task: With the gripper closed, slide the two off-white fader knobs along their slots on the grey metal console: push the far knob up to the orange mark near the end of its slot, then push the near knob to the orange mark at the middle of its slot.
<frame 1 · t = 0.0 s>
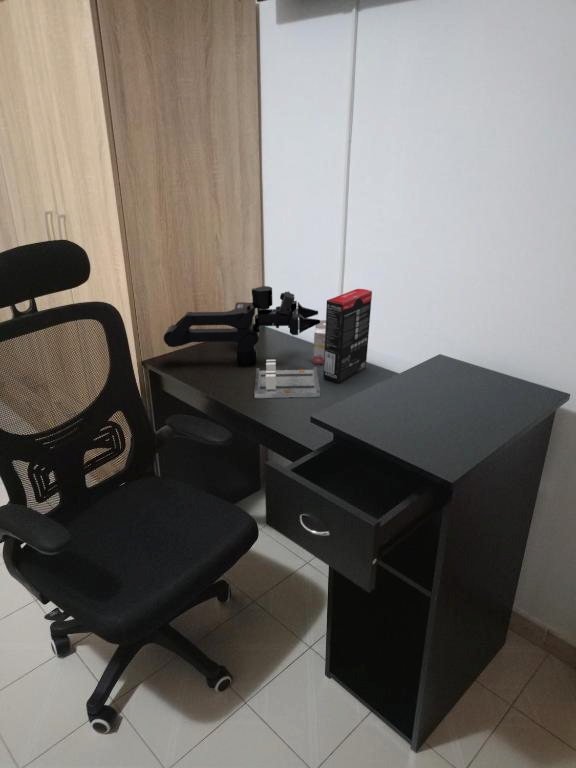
hand: (319, 316, 185), 17 cm above the table, tool horizontal, fingers open, 9 cm apart
fader b: (270, 379, 169), point 4 cm above the table, slide at -5.0 cm
fader a: (271, 367, 177), point 4 cm above the table, slide at -5.0 cm
ink cartridge box: (325, 362, 192), on the table
graphics card box: (346, 373, 183), on the table
coffee box: (245, 347, 205), on the table
console: (286, 385, 175), on the table
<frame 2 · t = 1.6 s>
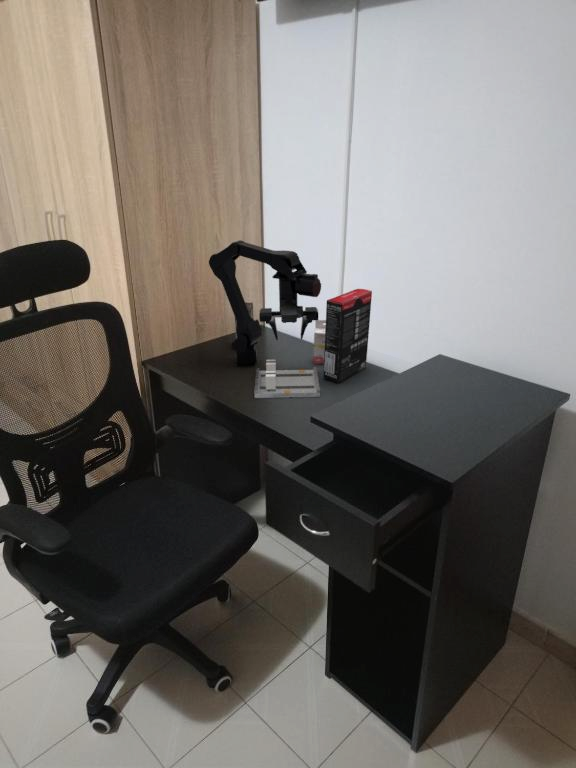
hand: (289, 339, 178), 12 cm above the table, tool pointing down, fingers open, 8 cm apart
nothing on the table moved.
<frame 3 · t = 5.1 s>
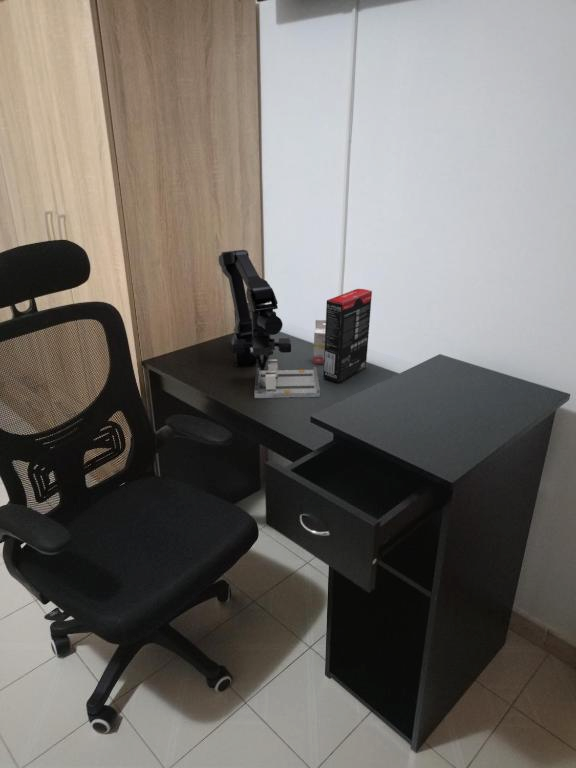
hand: (262, 370, 178), 4 cm above the table, tool pointing down, fingers closed
fader a: (273, 367, 177), point 4 cm above the table, slide at -4.4 cm, touching gripper
everything else where it was.
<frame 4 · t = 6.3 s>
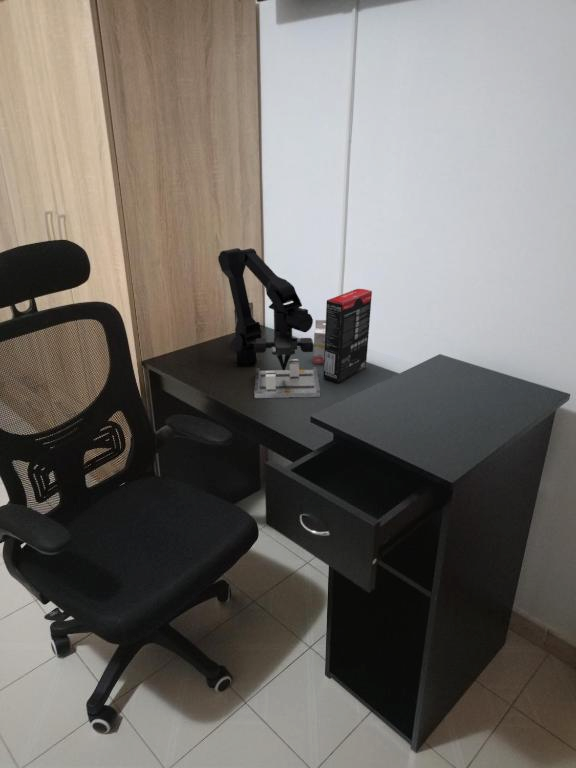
hand: (283, 369, 178), 4 cm above the table, tool pointing down, fingers closed
fader a: (294, 367, 177), point 4 cm above the table, slide at 2.5 cm, touching gripper
everything else where it was.
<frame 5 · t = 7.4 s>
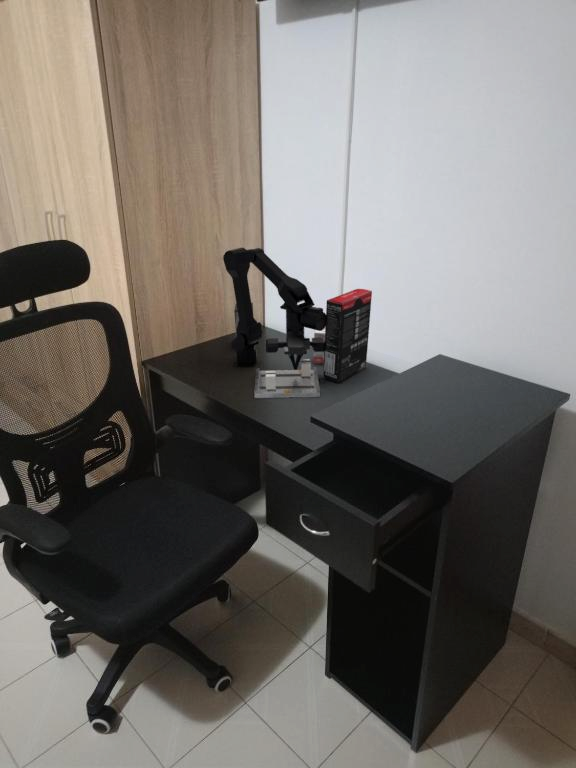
hand: (295, 369, 178), 4 cm above the table, tool pointing down, fingers closed
fader a: (305, 367, 177), point 4 cm above the table, slide at 6.3 cm, touching gripper
everything else where it was.
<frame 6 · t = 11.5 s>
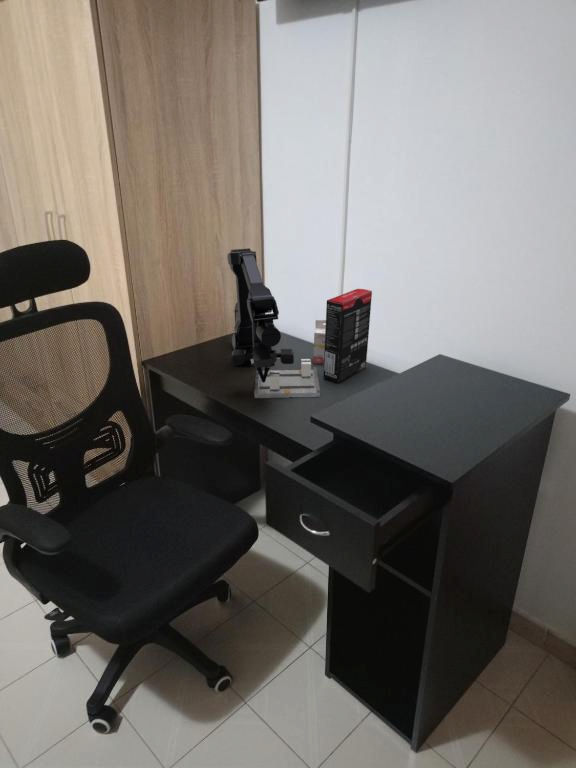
hand: (263, 381, 169), 4 cm above the table, tool pointing down, fingers closed
fader b: (274, 379, 169), point 4 cm above the table, slide at -3.8 cm, touching gripper
fader a: (306, 367, 177), point 4 cm above the table, slide at 6.4 cm
everything else where it was.
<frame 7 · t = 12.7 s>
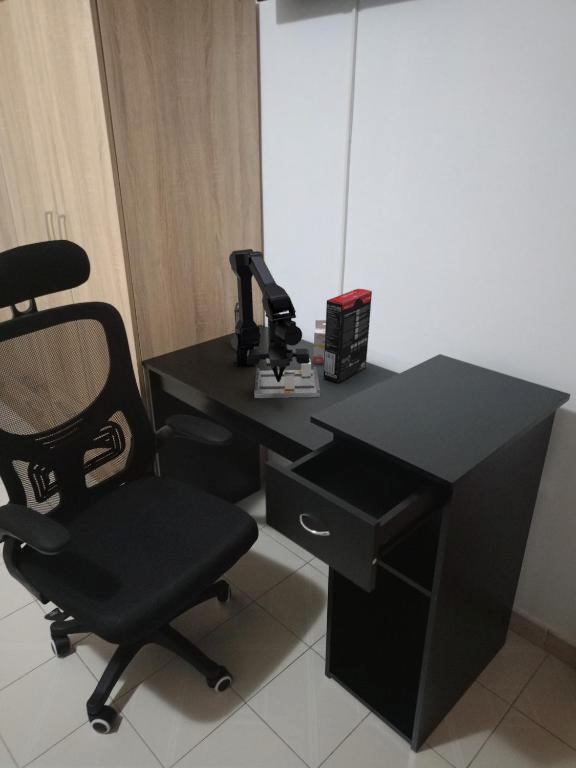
hand: (278, 381, 169), 4 cm above the table, tool pointing down, fingers closed
fader b: (289, 379, 169), point 4 cm above the table, slide at 0.8 cm, touching gripper
everything else where it was.
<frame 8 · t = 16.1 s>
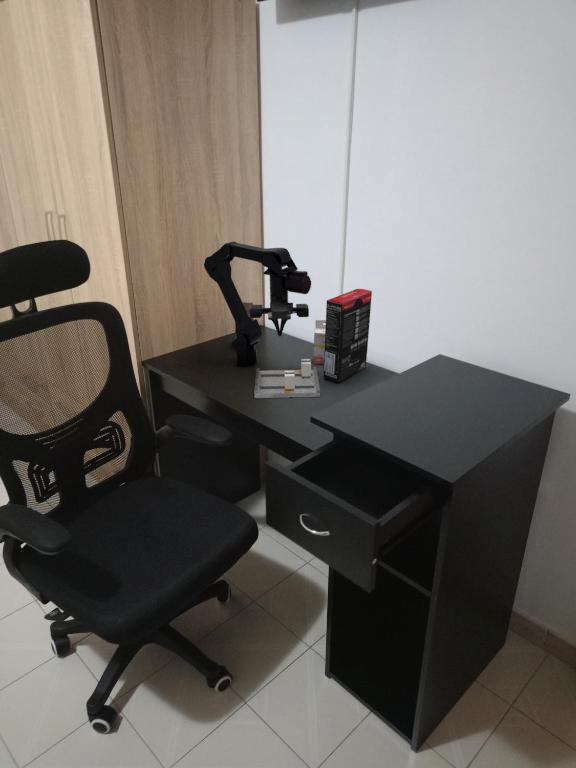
hand: (279, 335, 179), 13 cm above the table, tool pointing down, fingers closed
fader b: (289, 379, 169), point 4 cm above the table, slide at 0.8 cm
everything else where it was.
at the end: fader a slide at 6.4 cm; fader b slide at 0.8 cm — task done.
